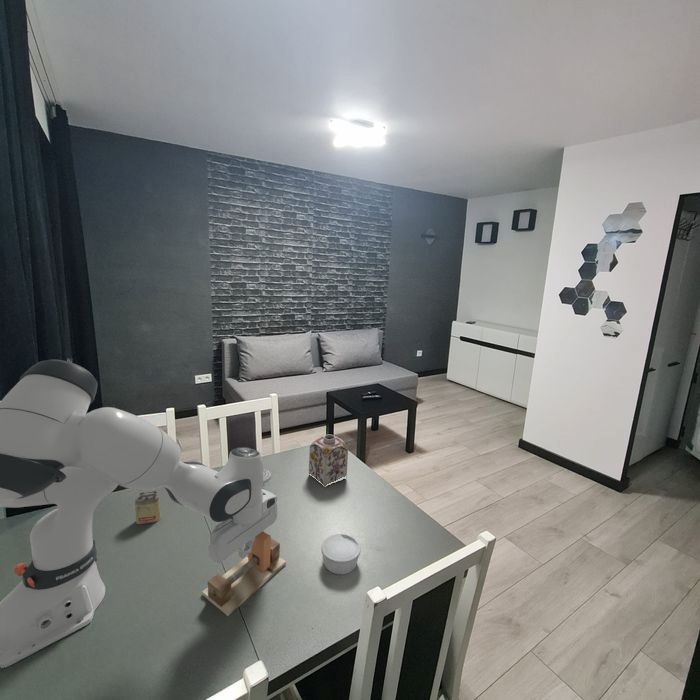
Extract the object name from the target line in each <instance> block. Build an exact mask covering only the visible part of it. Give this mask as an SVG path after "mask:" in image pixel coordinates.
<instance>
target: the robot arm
mask: <svg viewBox="0 0 700 700" xmlns="http://www.w3.org/2000/svg"><path fill="white" fill-rule="evenodd" d="M97 392H98V381H97V379H96V378H95V377H94V375H93V374H92V373H91V372H90V371H89V370H88V369H86V368H85V367H82V366H81V365H79V364H76V363H74V362H70V361H67V360H61V359H47V360H41V361H39V362H36V363H35V364H34V365H32V366H31V367H29V368H28V369H27V370H26V371H25V372H24V373H23V374H22V375H21V376H20V377H19V381H18V382H17V383H16V384H15V385H14V386H13V387H12V388H11V389H10V390H9V391H8V392H7V394H5V395H4V397H3V398H2V399H1V400H0V508H24V507H33V506H43V505H53V504H54V505H57V508H55V509H53V510H51V511H50V512H47V513H46V514H45V515H43V516H42V517H41V518H40V519H38V520H37V522H36V523H35V524H34V525H33V527H32V529H31V531H30V534H29V540H30V548H31V550H30V551H31V555H32V556H31V557H32V558H31V559H32V560H31V562H30V564H29V565H28V566H27V564H26V563H24V562H20V563H18V564H17V565H16V566H15V567H14V569H13V571H14V572H15V574H16V575H17V577H22V580H21V581H20V582H19V583H18V584H17V586H15V587H14V588H13V589H12V590H11V591H10V592H9V593H8V594H7V595H6V596H5V597H4V598H3V599H2V600H1V601H0V667H1V668H0V669H5V668H8V667H10V666H11V665H14V664H16V663H18V662H19V661H21V660H22V659H25V658H27V657H29V656H31V655H33V654H35V653H36V652H38V651H40V650H41V649H42V650H43V649H44V648H46V647H47V646H49V645H52V644H54V643H56V642H57V641H59V640H61V639H63V638H65V637H66V636H69V635H71V634H72V633H75V632H76V631H78V630H80V629H82V628H84V627H85V626H87V625H90V623H91V622H92V620H93V618H94V616H95V615H94V614H95V612H96V610H97V608H98V607H99V605H100V604H101V603H102V601H103V600H104V597H105V594H106V589H107V588H106V585H105V583H104V581H103V580H102V578H101V576H100V573H99V569H98V566H97V561H98V550H97V545H96V541H95V539H94V537H93V536H94V535H93V517H94V513H95V510H96V509H97V507H98V505H99V504H100V503H101V502H102V501H103V500H104V499H105V498H106V497H107V496H109V495H110V494H112V493H113V492H114V491H115V489H117V487H118V486H120V487H123V488H126V489H129V490H133V491H138V492H139V491H141V492H152V491H154V490H157V489H159V488H161V487H163V488H164V489H165V490H166V492H167V494H168V496H169V498H170V499H171V500H172V501H173V502H174V503H176V504H178V505H181V506H182V507H183V506H184V507H187V509H189V510H191V511H194V512H196V513H197V514H199V515H201V516H203V517H205V518H207V519H208V520H211V521H213V522H215V523H218V524H216V525H215V527H214V529H212V531H211V532H210V535H209V542H208V551H207V552H208V553H207V555H208V558H210V559H211V560H212V561H213V562H215V563H217V564H220V563H222V562H223V561H225V560H226V559H228V558H229V557H230V556H232V555H233V554H234V553H236V552H237V551H238V557H240V558H241V559H244V558H246V557H247V556H248V554H249V553H250V552H251V551H252V545H253V543H254V540H255V537H256V536H257V535H258V534H260V533H261V532H262V531H263V532H265V530H267V529H268V528H269V527H270V526H272V525H273V524H275V522H276V521H277V518H278V504H277V502H278V496H277V495H275V494H274V493H272V492H271V491H269V490H266V489H263V487H262V484H263V469H264V462H263V456H262V454H261V453H260V452H259V451H258V450H256V449H253V448H251V447H244V446H243V447H242V446H241V447H236V448H233V449H232V450H231V451H229V454H228V459H227V462H226V463H225V465H224V466H223V467H222V468H221V469H220V471H217V470H215V469H212V468H210V467H208V466H207V465H205V464H203V463H201V462H198V461H181V447H180V445H179V444H178V443H177V442H176V441H175V439H173V438H172V437H171V435H169V434H168V433H167V432H165V430H163V429H161V428H160V427H158V426H157V425H155V424H153V423H151V422H150V421H148V420H146V419H144V418H142V417H140V416H138V415H135V414H133V413H130V412H128V411H125V410H122V409H119V408H116V407H112V406H111V407H109V406H105V407H104V406H103V407H100V408H96V409H93V410H91V411H89V412H88V410H89V407H90V405H91V404H92V403H94V401H95V397H96V394H97ZM4 667H5V668H4Z"/></svg>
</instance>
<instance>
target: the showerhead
mask: <svg viewBox="0 0 700 700" xmlns="http://www.w3.org/2000/svg"><path fill="white" fill-rule="evenodd" d="M271 476H272V474H271V471H269V469H265V468H263V484H262V488H264V486H265V484H267V483H269V481H270V480H271V478H272V477H271Z"/></svg>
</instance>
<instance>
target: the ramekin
mask: <svg viewBox="0 0 700 700" xmlns="http://www.w3.org/2000/svg"><path fill="white" fill-rule="evenodd" d="M358 541H359V540H357V539H356V538H355V537H353V536H351V535H349V534H344V533H335V534H331V535H329V536H327V537H326V538H324V540H323V541H322V544H321V554H322V561H323V565H324V566H325V568H326V570H328V571H329V572H330V573H333V574H336V575H346V574H349V573H350V572H352V571H353V570H354V569H355V568H356V565H358V564H357V563H358V560H359V557H360V555H361V549H362V548H361V545H360V543H359V542H358Z"/></svg>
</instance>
